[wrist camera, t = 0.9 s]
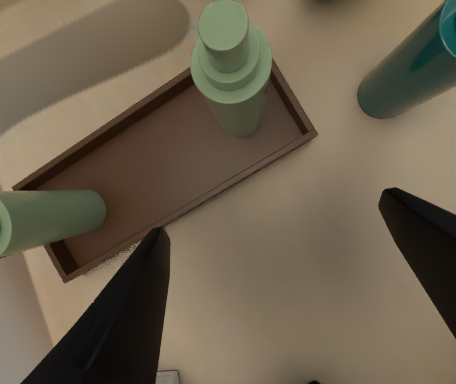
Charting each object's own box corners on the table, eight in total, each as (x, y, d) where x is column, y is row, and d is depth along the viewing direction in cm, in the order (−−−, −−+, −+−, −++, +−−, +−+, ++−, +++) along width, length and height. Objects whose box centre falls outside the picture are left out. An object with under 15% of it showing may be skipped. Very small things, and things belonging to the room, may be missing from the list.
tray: (311, 139, 22) (318, 134, 20) (81, 274, 25) (64, 283, 23) (252, 41, 22) (252, 24, 20) (33, 186, 26) (11, 187, 23)
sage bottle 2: (274, 118, 22) (300, 30, 9) (235, 147, 22) (211, 101, 10) (245, 80, 22) (234, -56, 10) (207, 110, 23) (150, 18, 10)
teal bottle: (421, 97, 21) (671, -32, 8) (377, 129, 21) (550, 51, 9) (390, 57, 21) (588, -127, 9) (347, 90, 21) (475, -41, 9)
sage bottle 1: (114, 215, 24) (-36, 249, 12) (82, 240, 25) (-94, 297, 12) (90, 180, 24) (-84, 176, 12) (58, 205, 25) (-139, 226, 12)
